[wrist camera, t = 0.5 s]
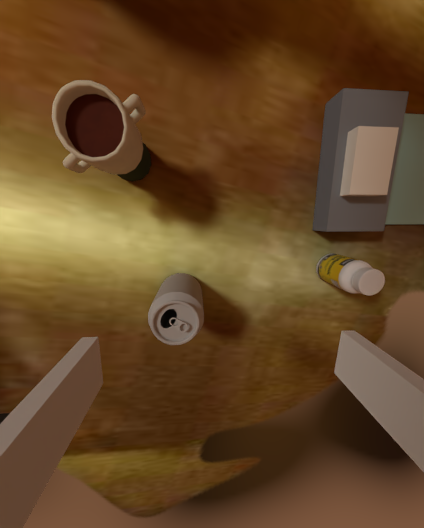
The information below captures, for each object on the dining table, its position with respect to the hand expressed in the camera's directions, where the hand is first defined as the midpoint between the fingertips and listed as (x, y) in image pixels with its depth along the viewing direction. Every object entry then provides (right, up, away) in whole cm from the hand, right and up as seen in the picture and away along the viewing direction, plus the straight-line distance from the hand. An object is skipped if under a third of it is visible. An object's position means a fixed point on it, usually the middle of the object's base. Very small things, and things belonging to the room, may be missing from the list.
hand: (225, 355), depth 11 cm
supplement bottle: (+22, +4, +28) cm, 35 cm away
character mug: (-13, +21, +21) cm, 33 cm away
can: (-6, 0, +26) cm, 27 cm away
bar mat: (+34, +21, +25) cm, 48 cm away
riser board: (+23, +21, +24) cm, 39 cm away
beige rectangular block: (+22, +20, +20) cm, 36 cm away
